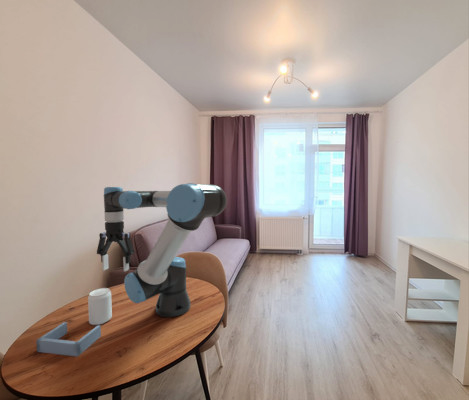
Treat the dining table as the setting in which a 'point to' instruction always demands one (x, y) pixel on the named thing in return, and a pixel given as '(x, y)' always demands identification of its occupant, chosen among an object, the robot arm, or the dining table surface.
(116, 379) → the dining table surface
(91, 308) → the beverage can
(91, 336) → the corral
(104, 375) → the dining table surface
